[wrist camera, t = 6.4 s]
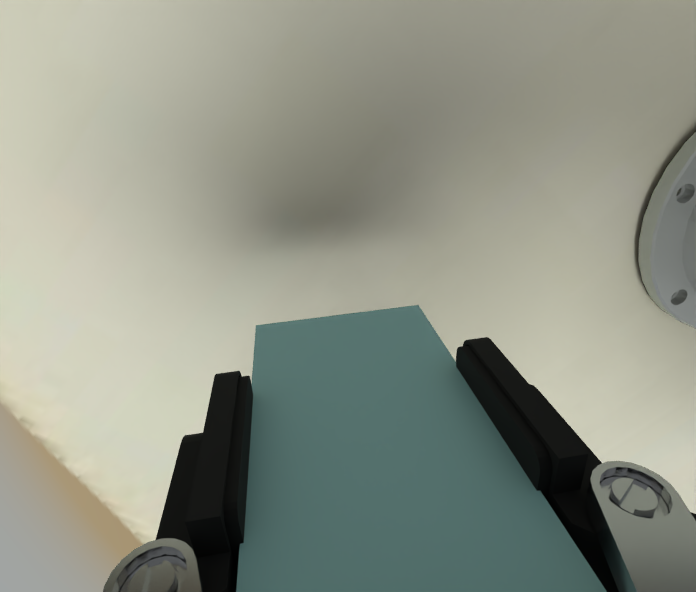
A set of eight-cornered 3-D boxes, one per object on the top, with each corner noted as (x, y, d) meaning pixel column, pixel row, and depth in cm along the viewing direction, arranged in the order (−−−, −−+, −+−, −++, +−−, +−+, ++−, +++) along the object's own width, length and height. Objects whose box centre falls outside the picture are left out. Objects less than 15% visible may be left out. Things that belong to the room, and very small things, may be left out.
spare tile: (418, 305, 14) (678, 700, 5) (417, 348, 15) (645, 765, 6) (256, 325, 13) (219, 809, 4) (263, 369, 14) (245, 864, 5)
